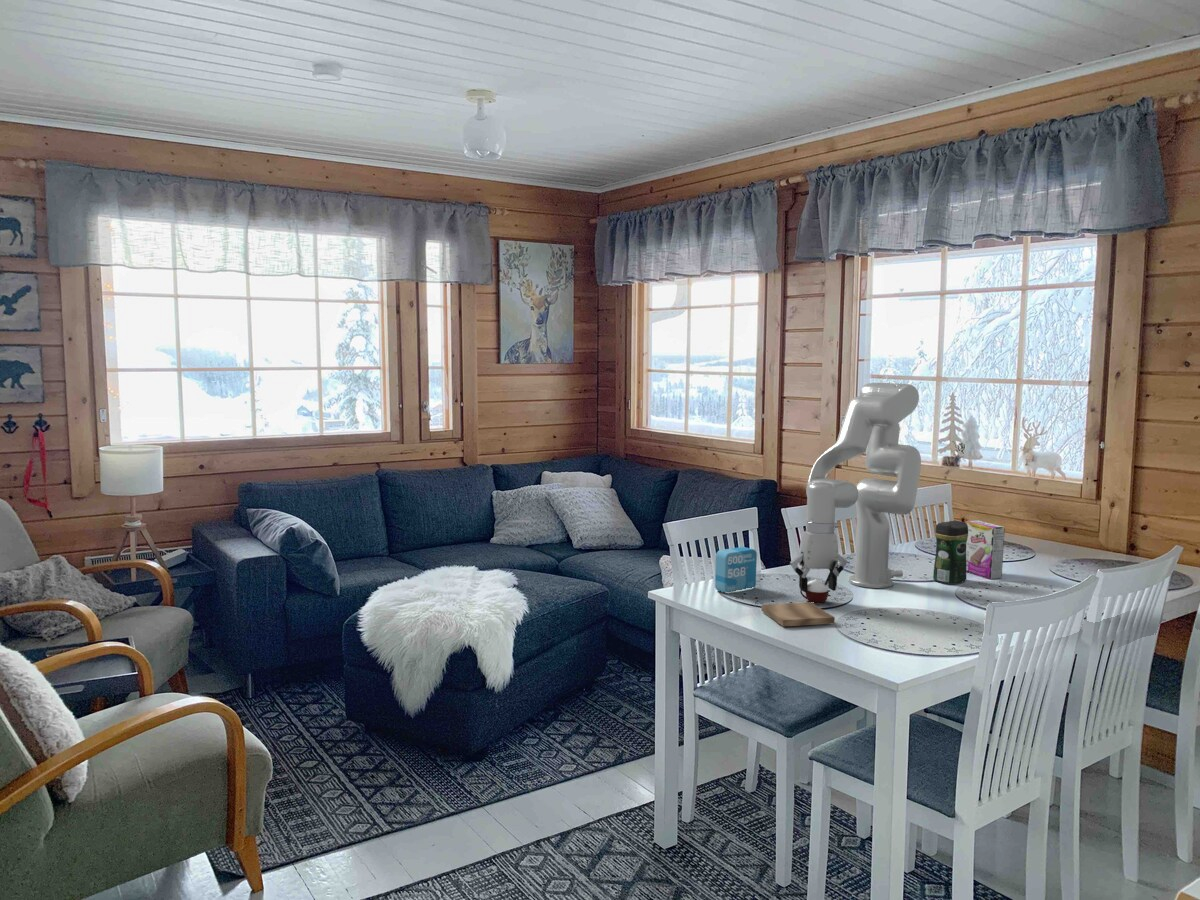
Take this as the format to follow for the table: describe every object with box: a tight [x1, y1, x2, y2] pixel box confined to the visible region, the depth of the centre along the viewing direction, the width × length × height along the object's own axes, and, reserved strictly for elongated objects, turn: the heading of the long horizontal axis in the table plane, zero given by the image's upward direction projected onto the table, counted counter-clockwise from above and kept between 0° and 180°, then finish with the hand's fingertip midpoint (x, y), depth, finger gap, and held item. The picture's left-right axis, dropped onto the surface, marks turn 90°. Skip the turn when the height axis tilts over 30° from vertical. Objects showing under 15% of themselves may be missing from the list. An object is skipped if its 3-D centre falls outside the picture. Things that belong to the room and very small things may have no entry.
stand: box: [761, 601, 835, 628], centre depth 235 cm, size 14×14×2 cm
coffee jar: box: [932, 519, 968, 585], centre depth 273 cm, size 10×8×19 cm
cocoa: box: [800, 561, 837, 604], centre depth 249 cm, size 10×6×12 cm, turn 42°
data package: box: [714, 546, 758, 593], centre depth 261 cm, size 12×4×12 cm, turn 123°
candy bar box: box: [966, 519, 1006, 580], centre depth 281 cm, size 11×5×16 cm, turn 22°
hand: (817, 589), depth 249 cm, fingers open, 7 cm apart
